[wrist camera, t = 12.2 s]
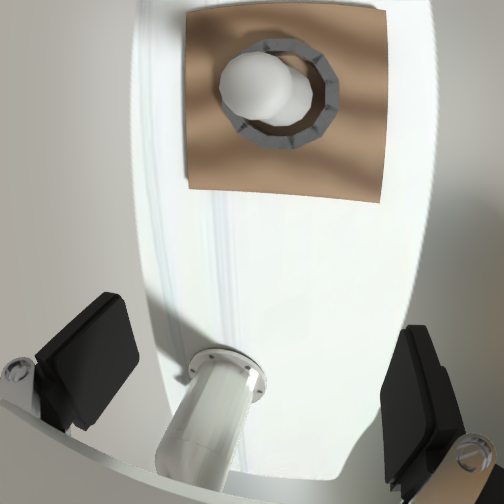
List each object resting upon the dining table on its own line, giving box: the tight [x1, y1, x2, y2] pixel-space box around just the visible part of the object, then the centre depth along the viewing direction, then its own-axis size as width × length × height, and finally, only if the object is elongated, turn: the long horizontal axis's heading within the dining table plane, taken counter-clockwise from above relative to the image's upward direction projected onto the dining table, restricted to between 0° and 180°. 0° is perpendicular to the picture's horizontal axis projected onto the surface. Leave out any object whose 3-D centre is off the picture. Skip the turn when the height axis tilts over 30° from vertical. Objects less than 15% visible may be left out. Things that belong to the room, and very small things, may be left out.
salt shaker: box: [219, 51, 313, 126], centre depth 21 cm, size 6×6×13 cm
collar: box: [222, 39, 339, 150], centre depth 25 cm, size 10×10×2 cm
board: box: [185, 3, 388, 203], centre depth 27 cm, size 20×20×2 cm
